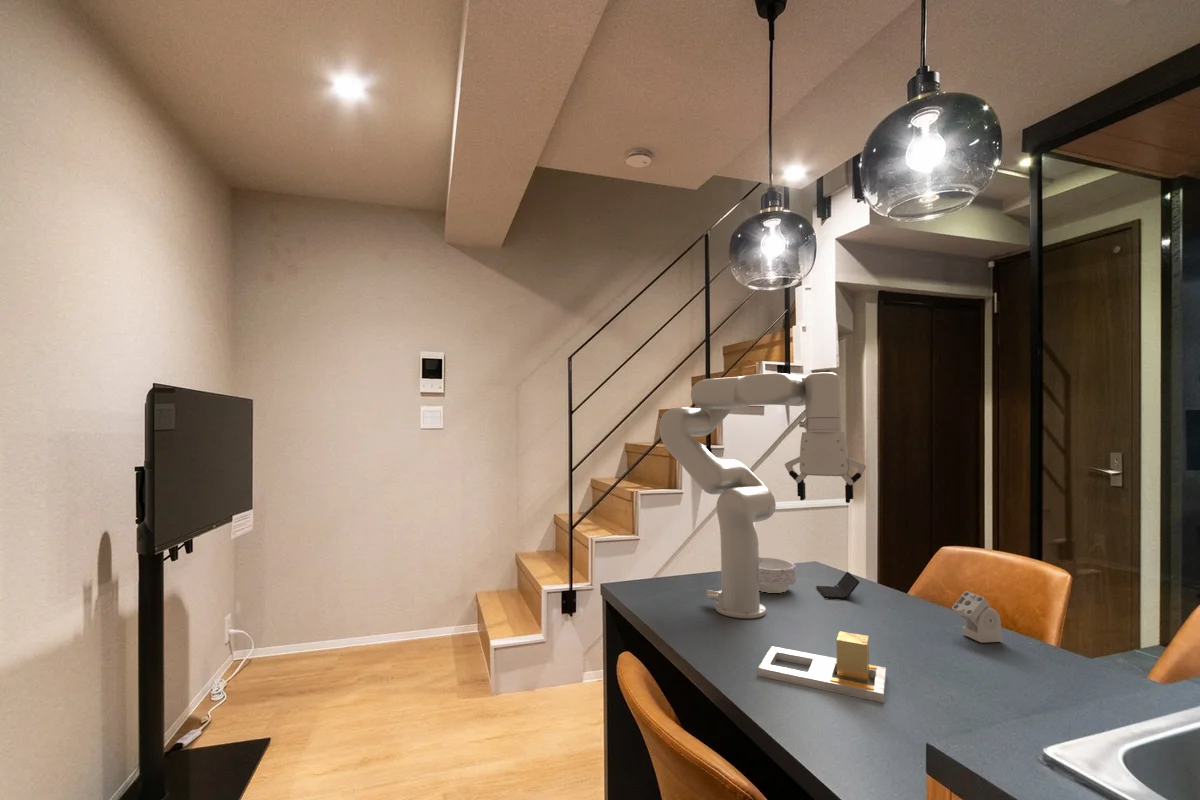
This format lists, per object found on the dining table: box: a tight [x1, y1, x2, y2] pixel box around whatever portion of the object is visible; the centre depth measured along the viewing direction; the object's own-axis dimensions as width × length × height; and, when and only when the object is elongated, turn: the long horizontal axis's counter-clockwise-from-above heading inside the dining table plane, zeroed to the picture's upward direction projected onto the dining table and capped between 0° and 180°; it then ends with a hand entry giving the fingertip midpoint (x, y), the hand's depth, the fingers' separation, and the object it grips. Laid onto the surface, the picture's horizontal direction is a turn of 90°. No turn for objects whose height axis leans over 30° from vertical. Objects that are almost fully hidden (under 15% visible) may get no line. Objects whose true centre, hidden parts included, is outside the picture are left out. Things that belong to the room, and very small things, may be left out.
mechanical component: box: [951, 590, 1003, 643], centre depth 121 cm, size 5×8×10 cm
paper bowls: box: [759, 556, 797, 594], centre depth 160 cm, size 15×15×8 cm
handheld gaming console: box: [816, 571, 861, 601], centre depth 155 cm, size 12×7×10 cm
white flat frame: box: [757, 646, 887, 704], centre depth 102 cm, size 21×12×2 cm, turn 61°
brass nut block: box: [835, 630, 871, 685], centre depth 100 cm, size 5×5×8 cm
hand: (825, 501), depth 124 cm, fingers open, 9 cm apart
